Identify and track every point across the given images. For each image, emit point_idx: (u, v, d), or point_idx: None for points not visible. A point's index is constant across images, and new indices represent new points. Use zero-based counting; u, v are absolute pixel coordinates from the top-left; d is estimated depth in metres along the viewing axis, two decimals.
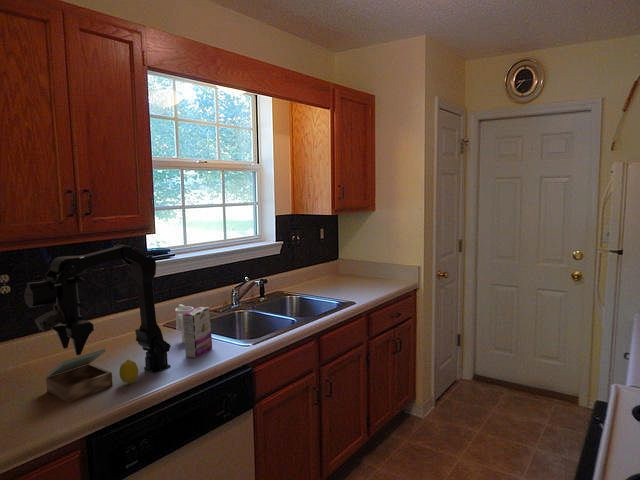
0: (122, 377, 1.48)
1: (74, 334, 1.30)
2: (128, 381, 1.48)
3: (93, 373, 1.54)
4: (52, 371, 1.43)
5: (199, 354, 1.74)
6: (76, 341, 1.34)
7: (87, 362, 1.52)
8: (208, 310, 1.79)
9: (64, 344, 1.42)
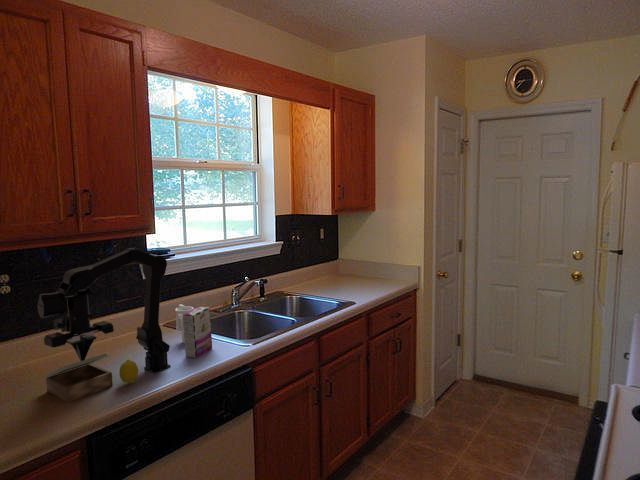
0: (122, 377, 1.48)
1: (44, 343, 1.38)
2: (128, 381, 1.48)
3: (93, 373, 1.54)
4: (53, 373, 1.43)
5: (199, 354, 1.74)
6: (73, 346, 1.43)
7: (87, 363, 1.52)
8: (208, 310, 1.79)
9: None
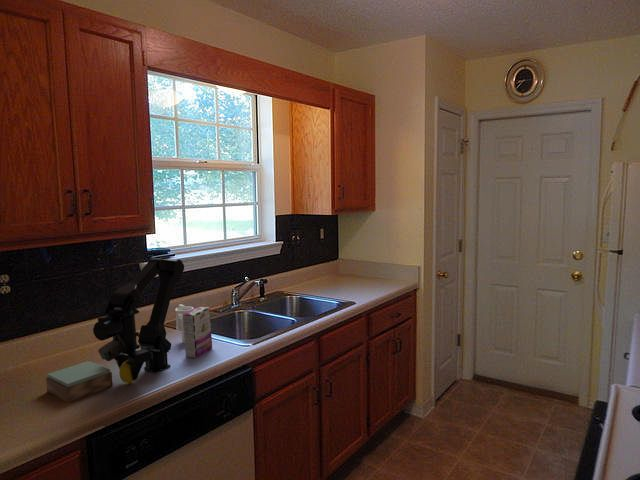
0: (122, 377, 1.48)
1: (137, 363, 1.42)
2: (128, 381, 1.48)
3: None
4: (54, 379, 1.43)
5: (199, 354, 1.74)
6: (133, 367, 1.46)
7: None
8: (208, 310, 1.79)
9: None
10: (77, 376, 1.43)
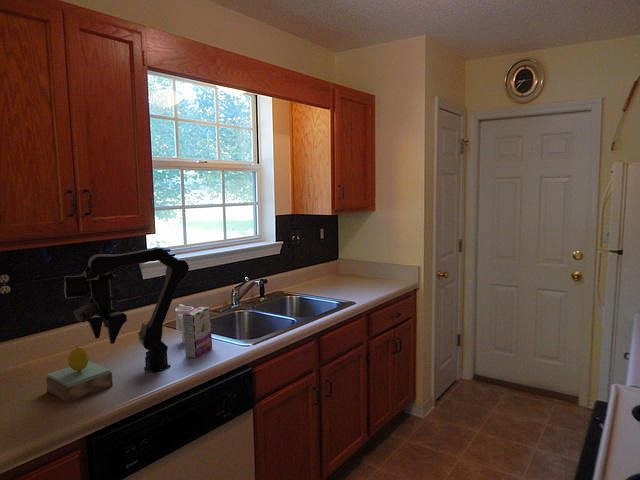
0: (71, 365, 1.44)
1: (111, 324, 1.45)
2: (77, 369, 1.45)
3: None
4: (54, 379, 1.43)
5: (199, 354, 1.74)
6: (111, 330, 1.48)
7: None
8: (208, 310, 1.79)
9: (96, 334, 1.55)
10: (77, 377, 1.43)
